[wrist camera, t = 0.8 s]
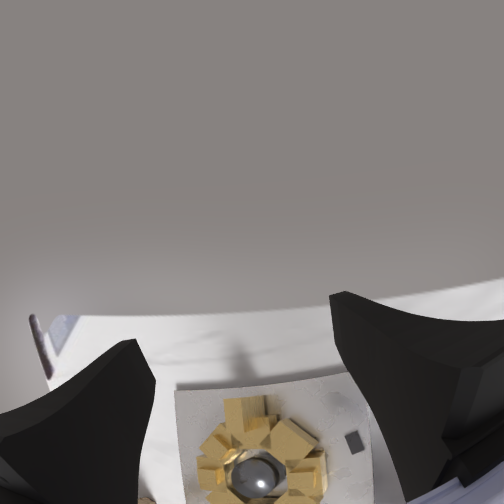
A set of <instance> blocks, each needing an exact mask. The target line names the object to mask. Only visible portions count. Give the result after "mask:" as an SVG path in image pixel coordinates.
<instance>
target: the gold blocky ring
mask: <svg viewBox="0 0 504 504" xmlns="http://www.w3.org/2000/svg"><path fill="white" fill-rule="evenodd" d="M223 401H224V412H225V422H223V423H220V424H219V425H218V426H217V427H216V428H215V430H214V431H213V432H212V433H211V434H210V435H209V437H208V438H207V439H206V440H205V441H204V442H203V444H202V445H201V446H200V447H199V449H200V450H201V451H202V452H203V453H204V454H203V455H200V456H197V457H196V460H197V475H198V482H199V484H200V489H201V490H208V491H212V492H211V493H210V494H209V495H208V496H207V497H205V499H206V500H207V501H208V502H210V503H211V504H320V502H321V500H322V499H323V497H324V496H323V494H324V493H325V491H326V490H327V488H328V483H327V471H326V459H325V452H316V453H310V452H311V451H312V450H313V449H314V447H315V446H316V445H317V444H318V443H319V442H318V441H317V440H315V439H314V438H313V437H311V436H310V435H309V434H307V433H306V432H305V431H303V430H302V429H301V428H300V427H298V426H297V425H296V424H294V423H293V422H292V421H291V420H289V419H288V418H286V419H283V420H281V421H279V422H278V424H277V415H265V408H264V399H263V395H261V396H250V397H239V398H228V399H223ZM244 449H265V450H266V451H267V452H269V453H270V454H271V455H272V456H273V457H275V458H276V459H277V460H278V461H280V462H281V463H282V464H283V465H285V466H286V474H287V484H288V490H287V491H286V492H285V493H284V494H283V495H282V496H280V497H279V498H249V497H246V496H244V495H242V494H240V493H239V492H238V491H237V490H236V489H235V487H234V486H233V484H232V480H231V473H232V470H233V468H234V460H235V459H236V458H237V457H238V456H239V455H240V453H241V452H242V451H243V450H244Z"/></svg>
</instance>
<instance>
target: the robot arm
mask: <svg viewBox="0 0 504 504" xmlns="http://www.w3.org/2000/svg"><path fill="white" fill-rule="evenodd" d="M329 300H330V307H331V315H332V323H333V331H334V340H335V344H336V347H337V349H338V351H339V354H340V356H341V358H342V361H343V363H344V365H345V366H346V368H347V370H348V372H349V373H350V375H351V376H352V378H353V380H354V381H355V383H356V385H357V386H358V388H359V390H360V391H361V393H362V395H363V396H364V398H365V400H366V401H367V403H368V404H369V406H370V408H371V410H372V412H373V414H374V416H375V418H376V420H377V423H378V425H379V427H380V430H381V432H382V434H383V437H384V439H385V442H386V444H387V447H388V450H389V452H390V455H391V457H392V460H393V463H394V466H395V469H396V472H397V475H398V478H399V481H400V484H401V487H402V491H403V494H404V497H405V501H406V503H405V504H504V320H496V321H455V320H443V319H436V318H430V317H425V316H420V315H415V314H411V313H407V312H404V311H400V310H397V309H394V308H391V307H388V306H385V305H382V304H379V303H376V302H374V301H371V300H369V299H366V298H363V297H361V296H358V295H356V294H353V293H350V292H346V291H343V292H340V293H336V294H333V295H330V296H329ZM155 385H156V379H155V377H154V375H153V374H152V372H151V370H150V368H149V366H148V364H147V362H146V360H145V357H144V355H143V353H142V351H141V349H140V347H139V345H138V343H137V341H136V339H130V340H124V341H121V342H119V343H117V344H116V345H114V346H113V347H111V348H110V349H109V350H107V351H106V352H105V353H103V354H102V355H101V356H100V357H98V358H97V359H96V360H94V361H93V362H92V363H91V364H89V365H88V366H87V367H86V368H84V369H83V370H82V371H80V372H79V373H78V374H76V375H75V376H74V377H72V378H71V379H69V380H68V381H67V382H65V383H64V384H62V385H61V386H59V387H58V388H56V389H54V390H53V391H51V392H49V393H48V394H46V395H44V396H42V397H40V398H38V399H37V400H34V401H32V402H30V403H28V404H26V405H24V406H22V407H19V408H17V409H14V410H11V411H9V412H5V413H2V414H0V504H138V476H139V464H140V456H141V450H142V445H143V441H144V438H145V434H146V430H147V426H148V422H149V418H150V414H151V411H152V407H153V402H154V395H155Z"/></svg>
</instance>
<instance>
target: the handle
mask: <svg viewBox="0 0 504 504" xmlns="http://www.w3.org/2000/svg"><path fill="white" fill-rule="evenodd" d="M138 504H156V503H155V502H153V501H151V500H150V499H149V498H147V497H144V498H140V499H138Z"/></svg>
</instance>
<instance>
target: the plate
mask: <svg viewBox="0 0 504 504" xmlns="http://www.w3.org/2000/svg"><path fill="white" fill-rule="evenodd" d="M261 395H263V399H264V408H265V415H277V424H278V422H279V421H281V420H283V419H286V418H288V419H289V420H291V421H292V422H293V423H294V424H296V425H297V426H298V427H300V428H301V429H302V430H303V431H305V432H306V433H307V434H309V435H310V436H311V437H313V438H314V439H315V440H317V441H318V442H319V443H318V444H317V445H316V446H315V447H314V449H313V450H312V451H311V452H310V453H316V452H325V459H326V471H327V483H328V488H327V490H326V491H325V493H324V494H323V496H324V497H323V499H322V500H321V502H320V504H374V480H373V463H372V449H371V438H370V427H369V418H368V409H367V401H366V400H365V398H364V396H363V395H362V393H361V391H360V390H359V388H358V386H357V385H356V383H355V381H354V380H353V378H352V376H351V375H350V373H349V372H344V373H339V374H334V375H329V376H323V377H318V378H312V379H305V380H299V381H292V382H285V383H277V384H269V385H260V386H250V387H239V388H226V389H209V390H182V391H174V397H175V411H176V423H177V434H178V444H179V453H180V462H181V470H182V478H183V485H184V492H185V498H186V504H211V503H210V502H208V501H207V500H206V499H205V497H207V496H208V495H209V494H210V493H211V492H212V491H208V490H201V489H200V484H199V482H198V475H197V460H196V457H197V456H200V455H203V454H204V453H203V452H202V451H201V450H200V449H199V447H200V446H201V445H202V444H203V442H204V441H205V440H206V439H207V438H208V437H209V435H210V434H211V433H212V432H213V431H214V430H215V428H216V427H217V426H218V425H219V424H220V423H223V422H225V412H224V401H223V399H228V398H239V397H250V396H261ZM231 480H232V484H233V486H234V487H235V489H236V490H237V491H238V492H239V493H240V494H242V495H244V496H246V497H249V498H279V497H280V496H282V495H283V494H284V493H285V492H286V491H287V490H288V484H287V474H286V466H285V465H283V464H282V463H281V462H280V461H278V460H277V459H276V458H275V457H273V456H272V455H271V454H270V453H269V452H267V451H266V450H265V449H244V450H243V451H242V452H241V453H240V455H239V456H238V457H237V458H236V459H235V460H234V468H233V470H232V473H231Z"/></svg>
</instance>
